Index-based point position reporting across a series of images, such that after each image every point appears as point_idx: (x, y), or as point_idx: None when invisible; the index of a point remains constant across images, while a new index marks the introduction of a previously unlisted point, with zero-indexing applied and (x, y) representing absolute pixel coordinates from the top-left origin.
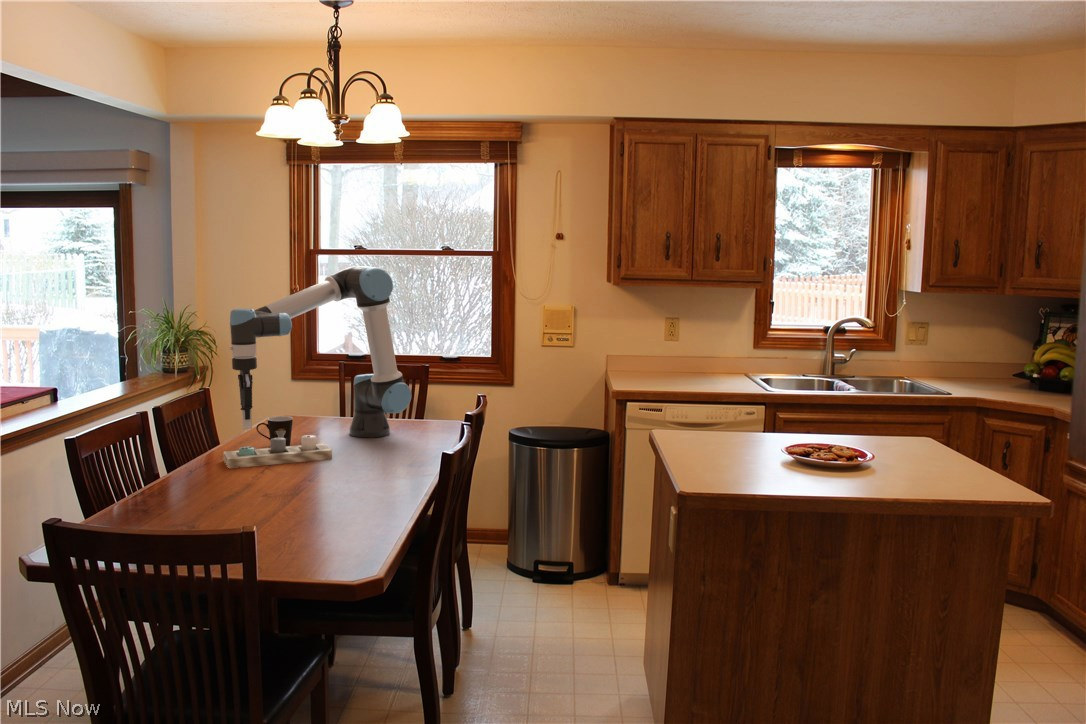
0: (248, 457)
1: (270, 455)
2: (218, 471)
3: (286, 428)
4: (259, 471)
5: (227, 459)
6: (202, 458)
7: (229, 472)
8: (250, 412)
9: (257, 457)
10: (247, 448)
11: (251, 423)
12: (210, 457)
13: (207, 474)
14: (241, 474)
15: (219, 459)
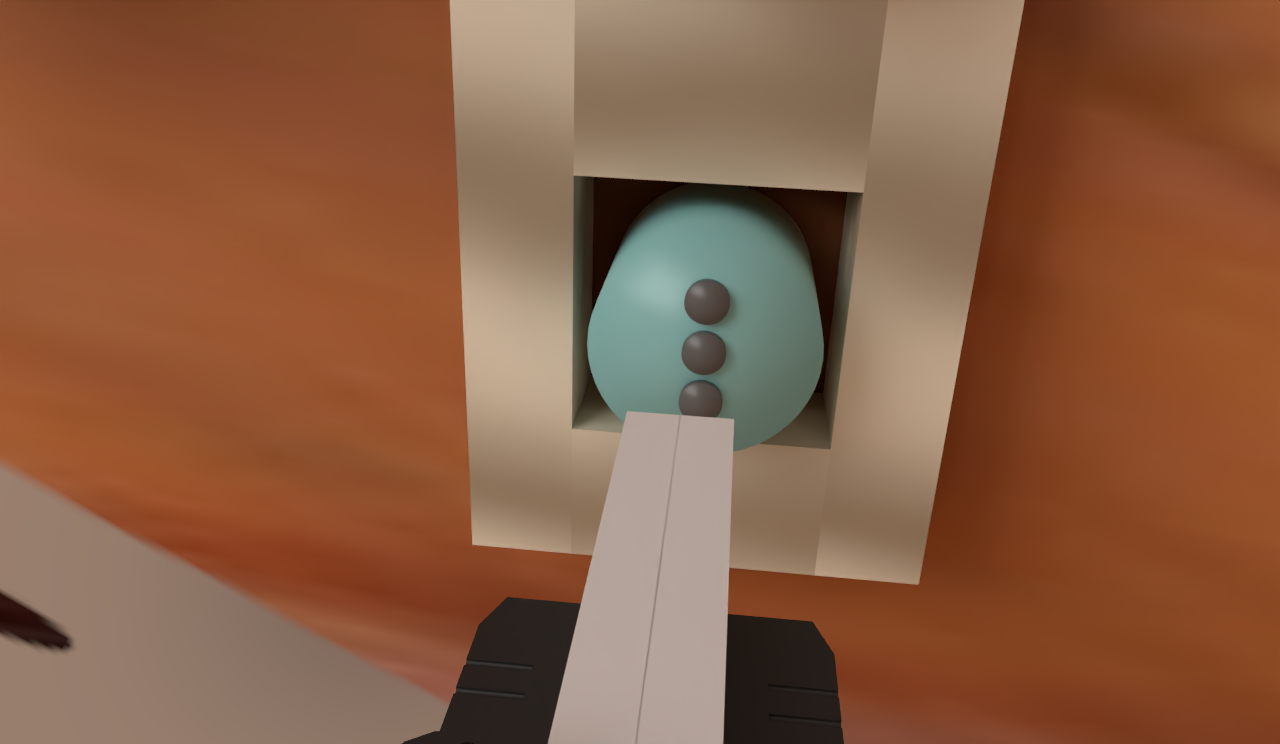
0: (957, 345)
1: (1014, 11)
2: (972, 618)
3: None
4: (1274, 230)
5: (882, 575)
6: (317, 632)
7: (1088, 538)
8: (718, 729)
9: (983, 219)
10: (724, 341)
11: (728, 495)
12: (295, 562)
13: (1036, 722)
14: (1272, 450)
15: (419, 505)
